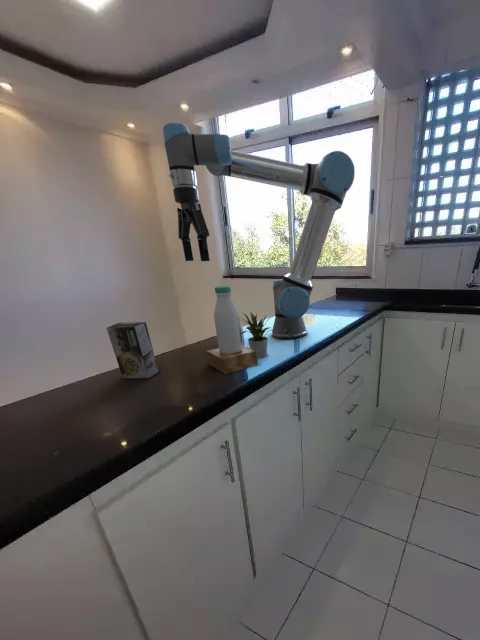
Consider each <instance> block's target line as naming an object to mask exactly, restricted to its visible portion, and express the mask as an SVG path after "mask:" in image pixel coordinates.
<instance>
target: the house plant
mask: <svg viewBox="0 0 480 640" xmlns="http://www.w3.org/2000/svg"><path fill="white" fill-rule="evenodd" d="M240 313H241V314H243V315H244V317H245V318H246V319H244V318H242V319H241V317H240V316H239V319H240V322H243V323H244V324H246V325H247V326H246V327H245V329H247V330H243V329H241V335H243V334H245V333H250V334H251V336H250V337H249V338H248V339H247V342H248V345H249V348H251V349H253V350H256V351H257V359H262V358H265V357H267V354H268V343H269V342H268V341H269V339H268V337H267V336H266V334H267V333H269V332H272V329H271V327H265V325H266V324H267V323H268V321H269V320H270V319H271V318H272V317H275V314H272V315H271V316H269V318H267V315H265V316H264V318H261V319H260V320H259V321H258V320H257V319H258V318H257V317H258V314H255V315H254V314H253V313H252V311H250V318H251V320H250V318H249V316H248V315H247V314H245V312H240ZM266 318H267V320H266ZM265 320H266V321H265ZM269 329H270V330H269ZM267 330H268V331H267ZM266 332H267V333H266ZM264 333H265V334H264Z"/></svg>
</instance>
